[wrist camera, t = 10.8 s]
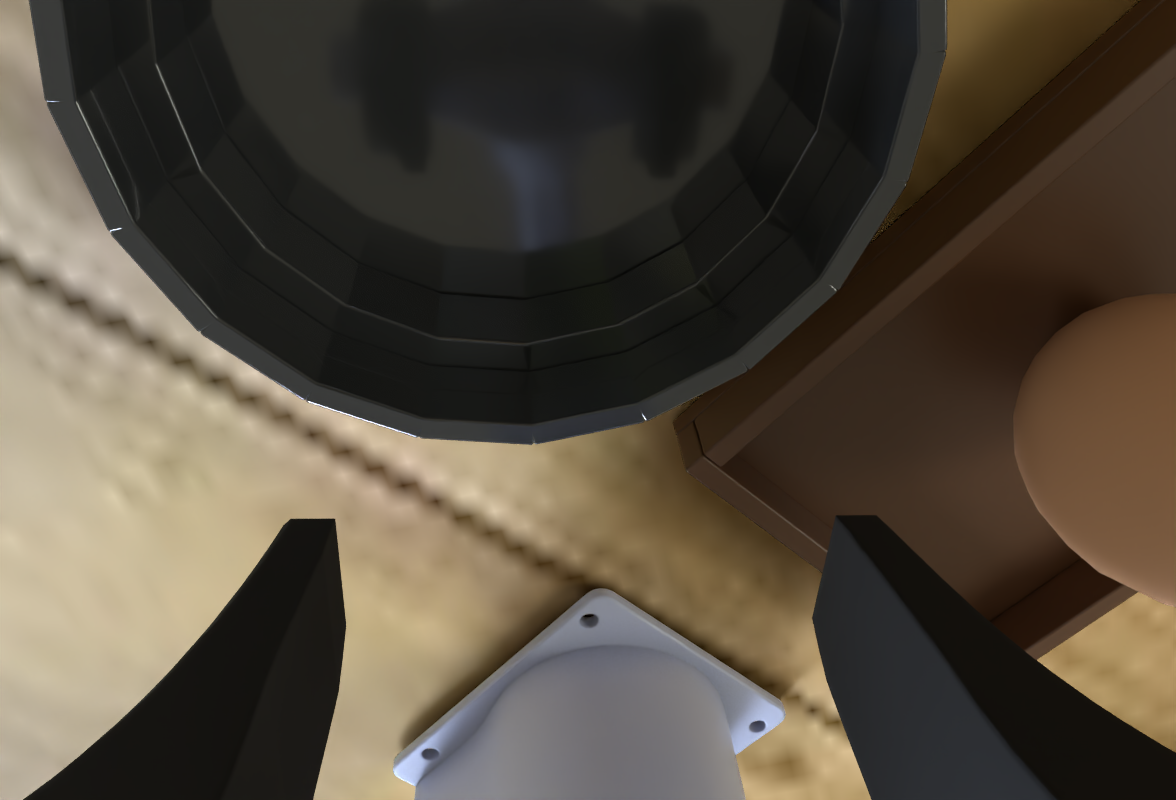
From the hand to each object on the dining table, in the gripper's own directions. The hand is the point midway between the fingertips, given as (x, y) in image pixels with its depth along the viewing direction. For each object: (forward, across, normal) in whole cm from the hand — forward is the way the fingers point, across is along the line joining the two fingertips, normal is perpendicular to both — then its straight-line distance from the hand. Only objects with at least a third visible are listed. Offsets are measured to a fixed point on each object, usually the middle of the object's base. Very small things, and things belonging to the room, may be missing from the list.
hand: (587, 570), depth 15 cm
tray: (+10, -13, +2) cm, 16 cm away
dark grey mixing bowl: (+10, +1, -6) cm, 11 cm away
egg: (+10, -13, +2) cm, 16 cm away
